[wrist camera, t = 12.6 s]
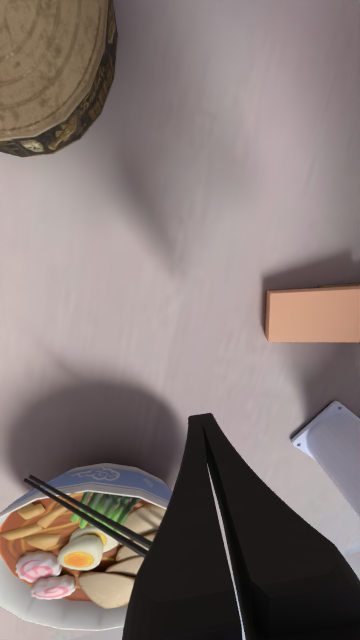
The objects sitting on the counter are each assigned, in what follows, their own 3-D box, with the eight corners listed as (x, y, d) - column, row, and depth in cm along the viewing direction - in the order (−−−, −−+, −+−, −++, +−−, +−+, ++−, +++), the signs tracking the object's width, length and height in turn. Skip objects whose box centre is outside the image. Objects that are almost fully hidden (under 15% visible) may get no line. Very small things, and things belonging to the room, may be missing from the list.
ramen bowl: (-20, 487, 25) (-106, 590, 17) (104, 381, 22) (67, 447, 14) (122, 565, 31) (106, 667, 23) (234, 491, 28) (260, 580, 20)
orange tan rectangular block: (267, 290, 20) (372, 285, 18) (265, 336, 21) (362, 335, 19) (270, 293, 18) (385, 287, 16) (268, 341, 20) (374, 342, 18)
